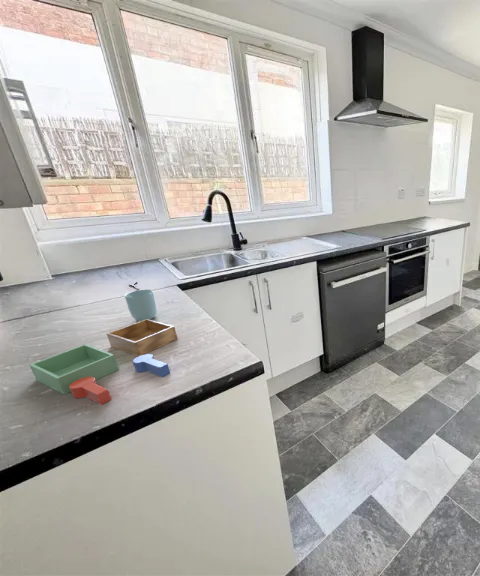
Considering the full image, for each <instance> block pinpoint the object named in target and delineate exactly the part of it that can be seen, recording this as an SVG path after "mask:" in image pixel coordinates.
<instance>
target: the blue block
mask: <svg viewBox="0 0 480 576" xmlns="http://www.w3.org/2000/svg"><path fill="white" fill-rule="evenodd" d="M132 364H133V367H134V371H135V372H137V373H143V372H148V373H150V374H152V375H153V374H154V375H156V376H158V377H162V378H163V377H166V376H168V375H170V374H171V371H170V368H169V364H168V363H166V362H163V361H161V360H158V359H155V357H154V355H153V354H152V353H146V354H144V355H141V356H139V357H138V356H136V357H135V358H134V359H133V360H132Z"/></svg>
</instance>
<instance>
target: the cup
mask: <svg viewBox="0 0 480 576" xmlns="http://www.w3.org/2000/svg"><path fill="white" fill-rule="evenodd" d="M124 299H125V303H126V305H127V309H128V311H129V314H130V315H131V317H132V318H133V319H134V320H135V321H136V322H140V321H142V320H145V319H149V320H153V319H154V318H155V317H156V316H157V313H158V308H157V307H158V306H157V303H156V299H155V295H154V291H153V290H152V289H144V290H139V289H137V290H134V291H130V292H128V293H126V294H125V295H124Z"/></svg>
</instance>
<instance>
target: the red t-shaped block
mask: <svg viewBox="0 0 480 576" xmlns="http://www.w3.org/2000/svg"><path fill="white" fill-rule="evenodd" d="M69 388H70V390H71V392H70V393H71V395H72V398H74V399H83V398H86V399H89V400H90V401H93V402H94V403H96V404H98V405H101V406H102V405H105V404H106V403H108V402H109V401H112V397H111V394H110V391H109V389H108V388H105V387H104V386H102V385H99V384H98V383H97V380H95V378H94V377H85V378H82V379H79V380H76V381H75V382H73V383H71V384H70V386H69Z"/></svg>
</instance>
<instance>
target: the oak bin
mask: <svg viewBox="0 0 480 576" xmlns="http://www.w3.org/2000/svg"><path fill="white" fill-rule="evenodd" d="M106 336H107V339H108V342H109V345H110V347H111V348H112V349H113V348H114V349H116V350H119V351H121V352H124V353H127V354H130V355H133V356H136V357H139V356H141V355H145V354H149V353H150V352H153V351H154V350H155V351H156V350H157V349H159V348H161V347H163V346H166V345H169V344H171V343H173V342H174V341H177V340H178V339H179V338H178V335H177V331H176V328H175V326H174V325H171V324H168V323H163V322H160V321H157V320H153V319H150V320H149V319H145V320H142V321H136V322H134V323H131V324H128V325H126V326H123V327H121V328H118V329H115V330H113V331H110V332H107V333H106Z"/></svg>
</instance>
